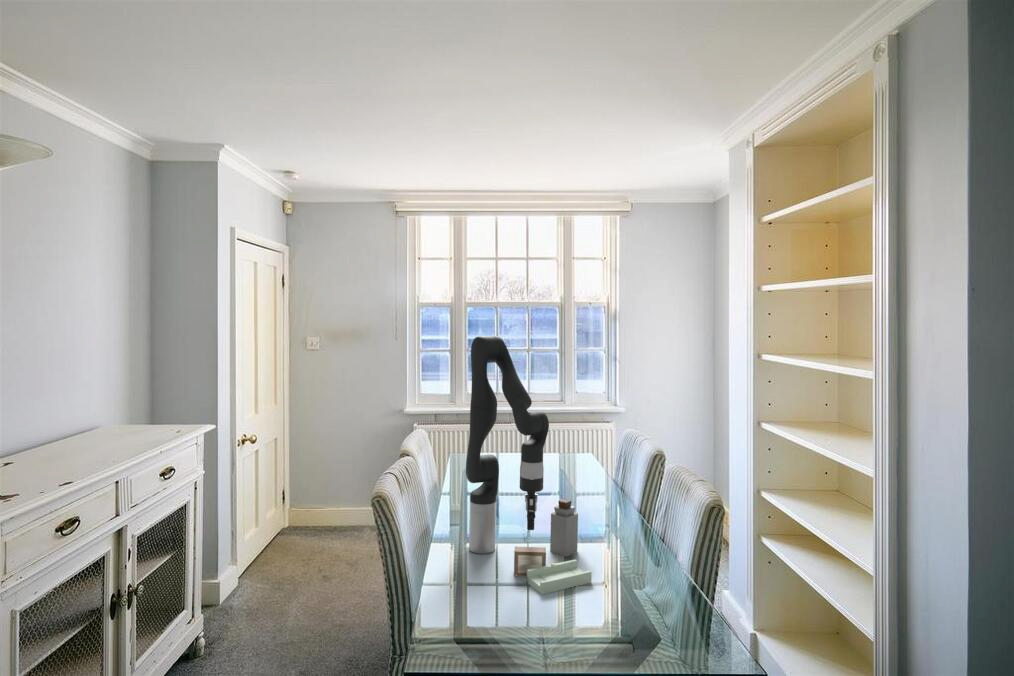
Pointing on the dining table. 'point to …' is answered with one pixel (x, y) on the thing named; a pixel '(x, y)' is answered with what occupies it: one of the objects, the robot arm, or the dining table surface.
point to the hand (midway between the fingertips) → (530, 524)
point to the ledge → (557, 577)
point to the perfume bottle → (564, 529)
